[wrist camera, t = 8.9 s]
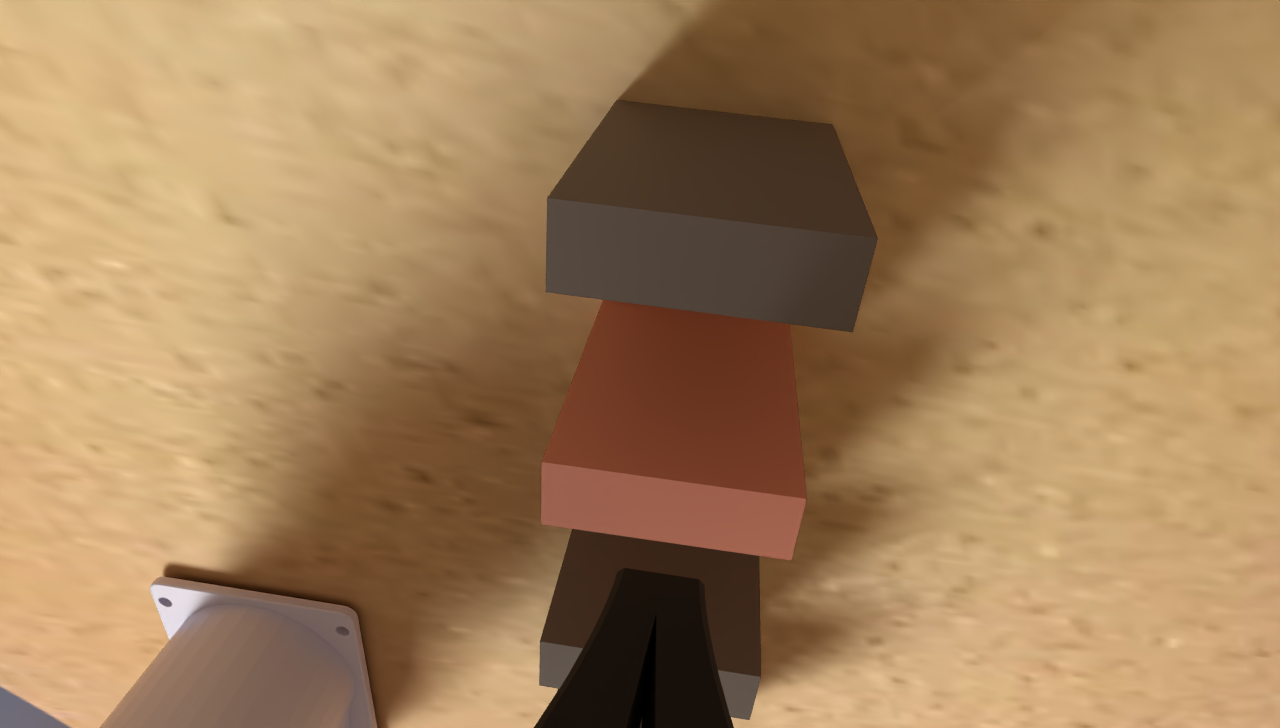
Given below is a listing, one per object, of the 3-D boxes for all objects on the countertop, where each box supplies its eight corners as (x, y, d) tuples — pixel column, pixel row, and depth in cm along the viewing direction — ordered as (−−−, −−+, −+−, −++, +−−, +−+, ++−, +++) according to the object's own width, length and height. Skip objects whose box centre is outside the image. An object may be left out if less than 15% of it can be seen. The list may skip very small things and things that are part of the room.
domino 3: (749, 514, 23) (749, 719, 17) (592, 490, 24) (539, 685, 18) (757, 475, 22) (761, 677, 16) (594, 451, 23) (540, 641, 17)
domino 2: (779, 373, 21) (791, 560, 15) (600, 350, 21) (540, 524, 15) (789, 322, 20) (806, 499, 14) (603, 299, 20) (541, 462, 14)
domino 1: (818, 192, 18) (852, 332, 12) (612, 168, 18) (545, 292, 12) (832, 124, 17) (877, 238, 11) (616, 99, 17) (547, 197, 11)
